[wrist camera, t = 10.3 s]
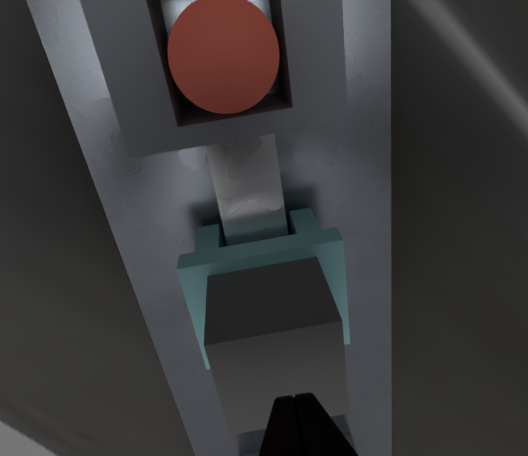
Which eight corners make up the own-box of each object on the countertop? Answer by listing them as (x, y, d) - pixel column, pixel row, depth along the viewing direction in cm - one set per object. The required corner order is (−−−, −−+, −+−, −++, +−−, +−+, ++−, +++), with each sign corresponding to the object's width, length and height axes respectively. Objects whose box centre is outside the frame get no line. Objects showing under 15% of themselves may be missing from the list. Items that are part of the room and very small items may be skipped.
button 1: (260, -9, 13) (271, -16, 10) (272, 86, 15) (285, 104, 12) (169, 6, 13) (154, 3, 10) (190, 100, 15) (183, 121, 12)
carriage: (324, 205, 17) (376, 300, 11) (332, 299, 19) (379, 417, 14) (183, 229, 17) (164, 338, 11) (208, 321, 19) (203, 449, 14)
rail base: (379, -61, 14) (416, -79, 12) (386, 461, 28) (403, 507, 26) (36, -4, 14) (-7, -8, 11) (214, 492, 28) (214, 542, 25)
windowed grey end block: (315, -54, 13) (338, -71, 11) (354, 482, 27) (369, 532, 25) (101, -18, 13) (71, -27, 10) (251, 501, 27) (255, 553, 25)
